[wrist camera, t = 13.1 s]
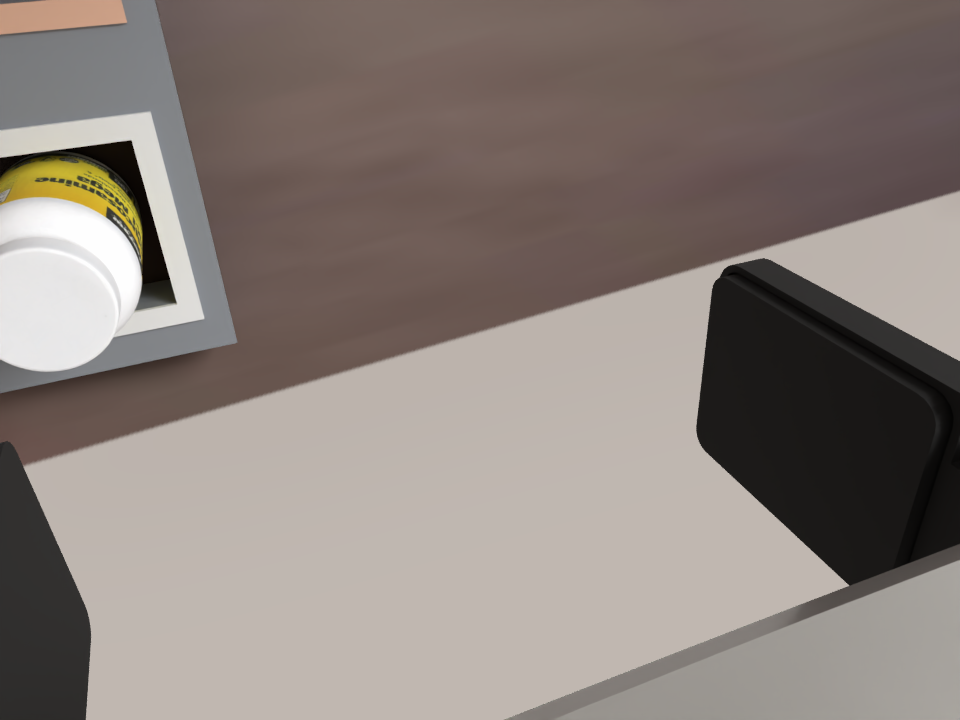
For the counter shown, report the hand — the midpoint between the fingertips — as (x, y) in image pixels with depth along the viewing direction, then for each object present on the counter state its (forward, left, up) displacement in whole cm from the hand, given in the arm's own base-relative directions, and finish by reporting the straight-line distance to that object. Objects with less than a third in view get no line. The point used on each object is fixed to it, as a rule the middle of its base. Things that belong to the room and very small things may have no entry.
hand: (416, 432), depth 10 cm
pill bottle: (+8, +5, -31) cm, 32 cm away
